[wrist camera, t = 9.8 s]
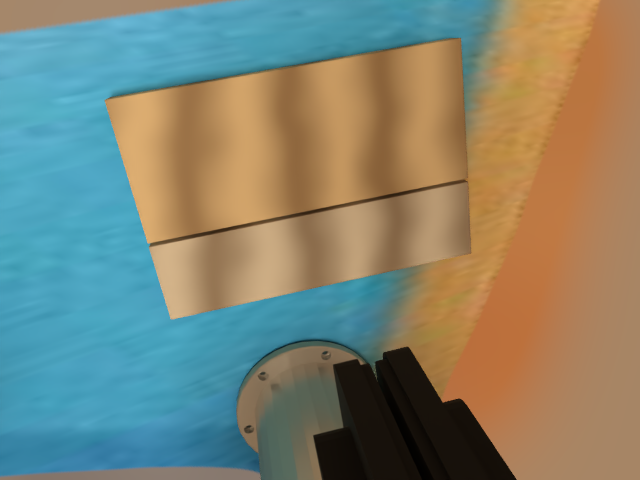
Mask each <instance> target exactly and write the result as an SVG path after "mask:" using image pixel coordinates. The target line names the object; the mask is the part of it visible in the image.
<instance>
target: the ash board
mask: <svg viewBox="0 0 640 480" xmlns="http://www.w3.org/2000/svg"><path fill="white" fill-rule="evenodd" d="M149 249H150V252H151V255H152V259H153V262H154V265H155V268H156V272H157V275H158V278H159V282H160V285H161V288H162V292H163V295H164V298H165V301H166V305H167V308H168V311H169V315H170V318H171V319H176V318H181V317H185V316H190V315H194V314H199V313H203V312H208V311H212V310H217V309H221V308H226V307H230V306H235V305H240V304H244V303H249V302H253V301H258V300H262V299H267V298H271V297H276V296H280V295H285V294H289V293H294V292H299V291H303V290H308V289H312V288H317V287H321V286H326V285H330V284H335V283H339V282H344V281H348V280H353V279H357V278H362V277H367V276H371V275H376V274H380V273H385V272H389V271H394V270H398V269H403V268H407V267H412V266H416V265H421V264H426V263H430V262H435V261H439V260H444V259H448V258H453V257H457V256H462V255H466V254H471V238H470V215H469V193H468V182H467V181H465V180H464V179H462V180H457V181H452V182H447V183H442V184H437V185H432V186H427V187H422V188H418V189H413V190H408V191H403V192H398V193H393V194H388V195H383V196H378V197H373V198H369V199H364V200H359V201H354V202H349V203H344V204H339V205H334V206H329V207H325V208H320V209H315V210H310V211H305V212H300V213H295V214H290V215H285V216H280V217H276V218H271V219H266V220H261V221H256V222H251V223H246V224H241V225H236V226H231V227H227V228H222V229H217V230H212V231H207V232H202V233H197V234H192V235H187V236H182V237H178V238H173V239H168V240H163V241H158V242H153V243H150V246H149Z"/></svg>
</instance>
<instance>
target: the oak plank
mask: <svg viewBox="0 0 640 480" xmlns="http://www.w3.org/2000/svg"><path fill="white" fill-rule="evenodd" d="M105 103H106V106H107V110H108V113H109V116H110V119H111V123H112V126H113V129H114V133H115V136H116V139H117V143H118V146H119V149H120V153H121V156H122V159H123V163H124V166H125V169H126V173H127V176H128V179H129V182H130V186H131V189H132V192H133V196H134V199H135V202H136V206H137V209H138V212H139V216H140V219H141V222H142V226H143V229H144V232H145V236H146V239H147V242H148V243H153V242H158V241H163V240H168V239H173V238H178V237H182V236H187V235H192V234H197V233H202V232H207V231H212V230H217V229H222V228H227V227H231V226H236V225H241V224H246V223H251V222H256V221H261V220H266V219H271V218H276V217H280V216H285V215H290V214H295V213H300V212H305V211H310V210H315V209H320V208H325V207H329V206H334V205H339V204H344V203H349V202H354V201H359V200H364V199H369V198H373V197H378V196H383V195H388V194H393V193H398V192H403V191H408V190H413V189H418V188H422V187H427V186H432V185H437V184H442V183H447V182H452V181H457V180H462V179H467V178H468V172H467V151H466V131H465V111H464V90H463V70H462V49H461V38H449V39H443V40H437V41H432V42H426V43H420V44H414V45H408V46H403V47H397V48H391V49H385V50H380V51H374V52H368V53H362V54H357V55H351V56H345V57H339V58H334V59H328V60H322V61H316V62H311V63H305V64H299V65H293V66H287V67H282V68H276V69H270V70H264V71H259V72H253V73H247V74H241V75H236V76H230V77H224V78H218V79H213V80H207V81H201V82H195V83H190V84H184V85H178V86H172V87H167V88H161V89H155V90H149V91H143V92H138V93H132V94H126V95H120V96H115V97H110V98H108V99H106V100H105Z"/></svg>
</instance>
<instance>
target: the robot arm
mask: <svg viewBox="0 0 640 480" xmlns="http://www.w3.org/2000/svg"><path fill="white" fill-rule="evenodd" d="M324 351H325V352H324ZM375 365H376V373H377V379H376V377H375V375H374V373H373V371H372V368H371V366H370V364H369V363H366V362H365V361H364V360H363V359H362V358H361V357H360V356H359V355H357V354H356V353H355V352H354V351H352V350H350V349H348V348H346V347H344V346H341V345H338V344H334V343H331V342H322V341H308V342H300V343H296V344H292V345H288V346H286V347H283V348H281V349H278V350H276V351H274V352H273V353H271V354H269V355H268V356H266V357H265V358H263V359H262V360H261V361H260V362H259V363H258V364H256V365H255V366H254V367H253V368H252V370H251V371H250V372H249V374H248V375H247V376H246V377H245V379H244V381H243V383H242V385H241V387H240V390H239V393H238V397H237V410H236V412H237V423H238V426H239V430H240V432H241V435H242V436H243V438H244V439H245V441H246V442H247V444H248V445H249V446H250V447H251V448H252V449H253V450H254V451H256V452H257V453H259V464H260V475H261V480H516V478H515V477H514V475H513V474H512V472H511V471H510V469H509V468H508V466H507V465H506V463H505V462H504V460H503V459H502V457H501V456H500V454H499V453H498V451H497V450H496V448H495V447H494V445H493V444H492V442H491V441H490V439H489V438H488V436H487V435H486V433H485V432H484V430H483V429H482V427H481V426H480V424H479V423H478V421H477V420H476V418H475V417H474V415H473V414H472V412H471V411H470V409H469V408H468V406H467V405H466V404H465V403H464V401H463V400H461V399H455V400H451V401H447V402H444V403H443V402H442V401H441V399H440V397H439V396H438V394H437V392H436V391H435V389H434V388H433V386H432V384H431V383H430V381H429V379H428V378H427V376H426V374H425V373H424V371H423V369H422V368H421V366H420V365H419V363H418V361H417V360H416V358H415V356H414V355H413V353H412V351H411V350H410V348H409V347H404V348H400V349H396V350H392V351H387V352H384V353H383V360H379V361H376V362H375ZM377 381H378V382H377Z"/></svg>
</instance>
